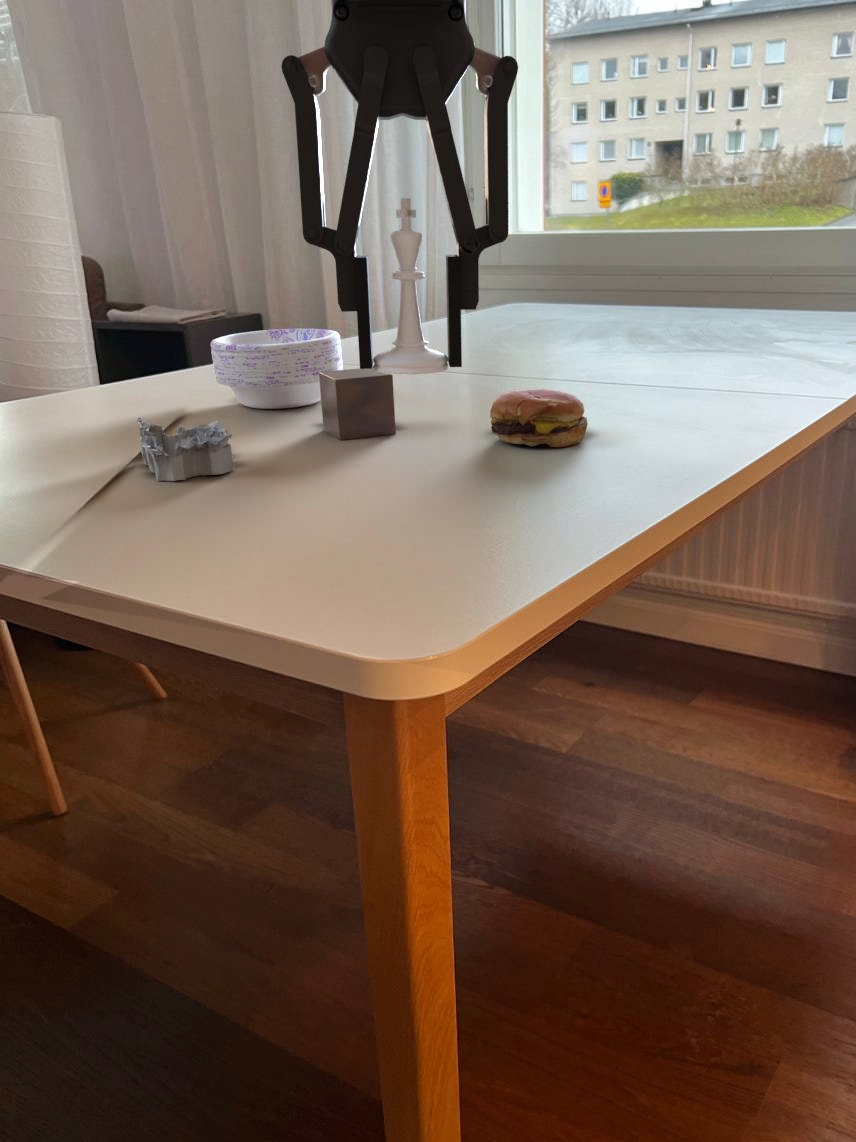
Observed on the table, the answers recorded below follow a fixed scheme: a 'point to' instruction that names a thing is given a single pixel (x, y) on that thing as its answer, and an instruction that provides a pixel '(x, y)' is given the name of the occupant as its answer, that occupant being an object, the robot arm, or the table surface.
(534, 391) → the burger
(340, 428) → the walnut block
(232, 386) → the paper bowls
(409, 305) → the chess piece
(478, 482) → the table surface
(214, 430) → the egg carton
